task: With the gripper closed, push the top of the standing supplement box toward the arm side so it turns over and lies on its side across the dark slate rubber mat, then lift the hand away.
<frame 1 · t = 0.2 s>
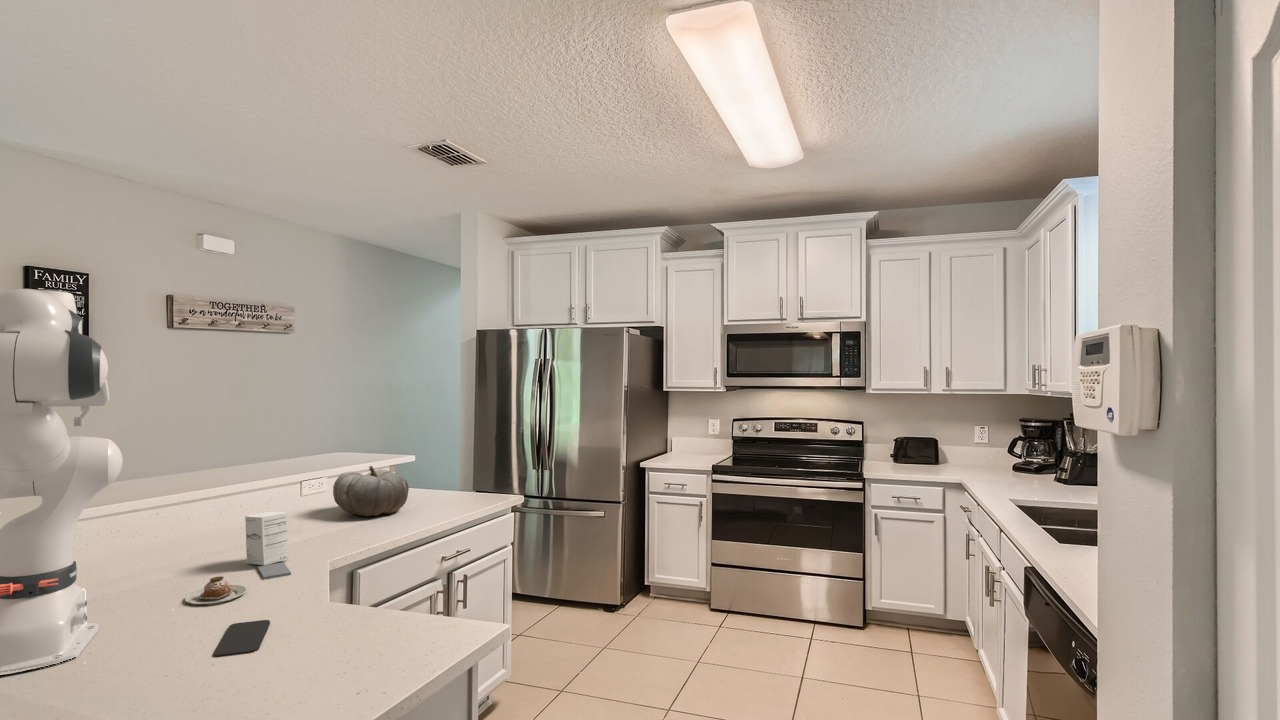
hand: (50, 426, 145), 39 cm above the worktop, fingers open, 8 cm apart
pastry: (216, 599, 151), on the worktop
gourd: (372, 513, 233), on the worktop
slate mat: (274, 571, 169), on the worktop
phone: (243, 641, 129), on the worktop
supplement box: (268, 562, 176), on the worktop, touching slate mat
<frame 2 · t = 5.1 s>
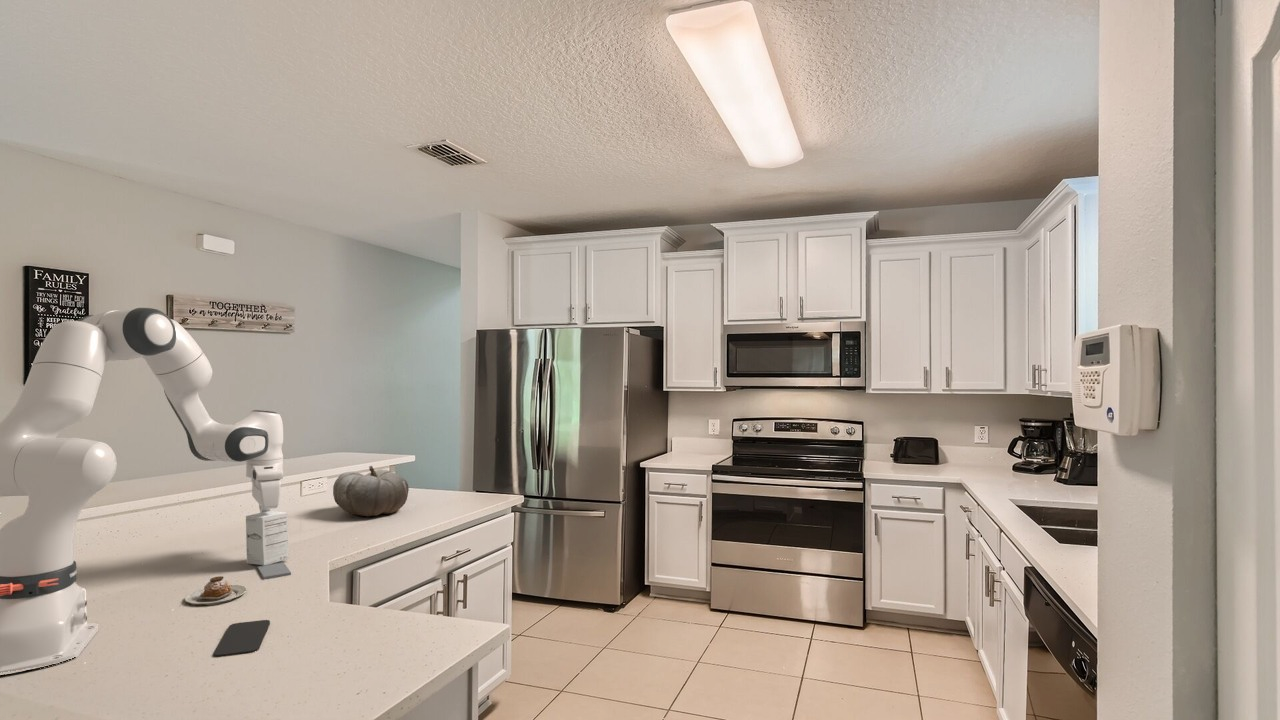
hand: (264, 519, 181), 10 cm above the worktop, fingers closed
supplement box: (268, 562, 176), on the worktop, touching gripper, slate mat
everything else where it was.
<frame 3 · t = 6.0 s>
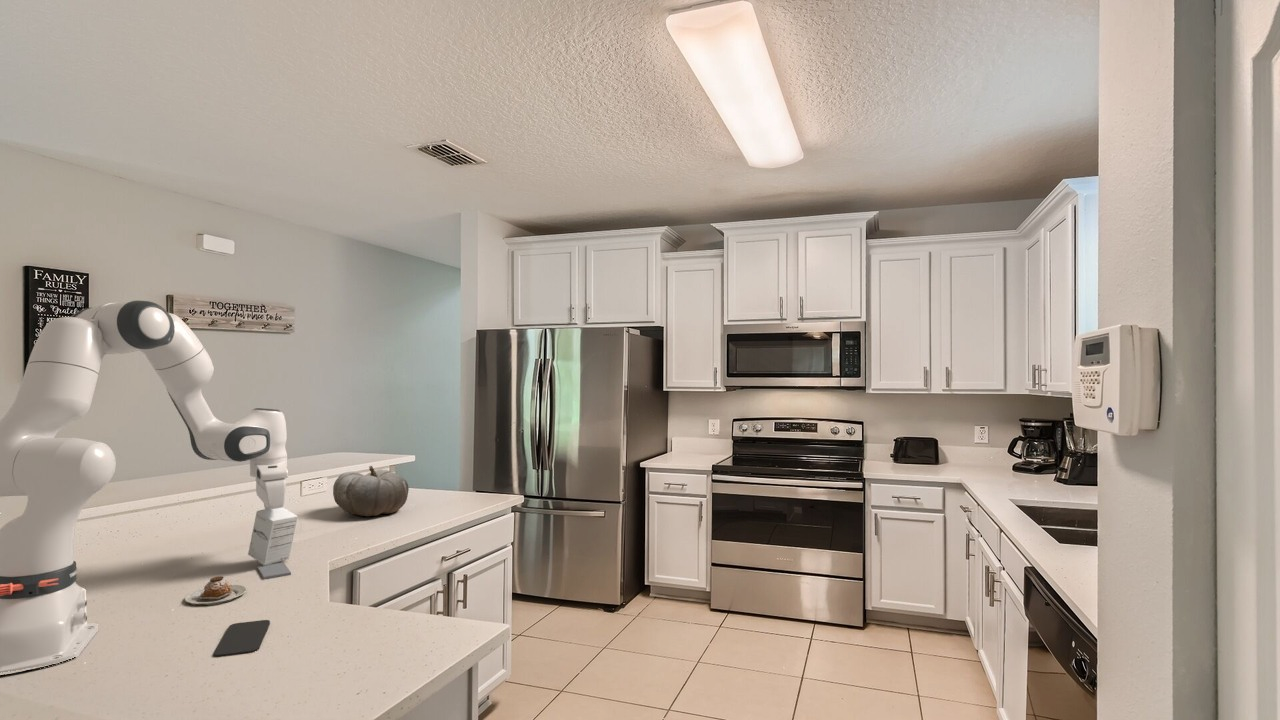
hand: (270, 518, 179), 11 cm above the worktop, fingers closed
supplement box: (268, 558, 176), point 1 cm above the worktop, touching gripper, slate mat
everything else where it was.
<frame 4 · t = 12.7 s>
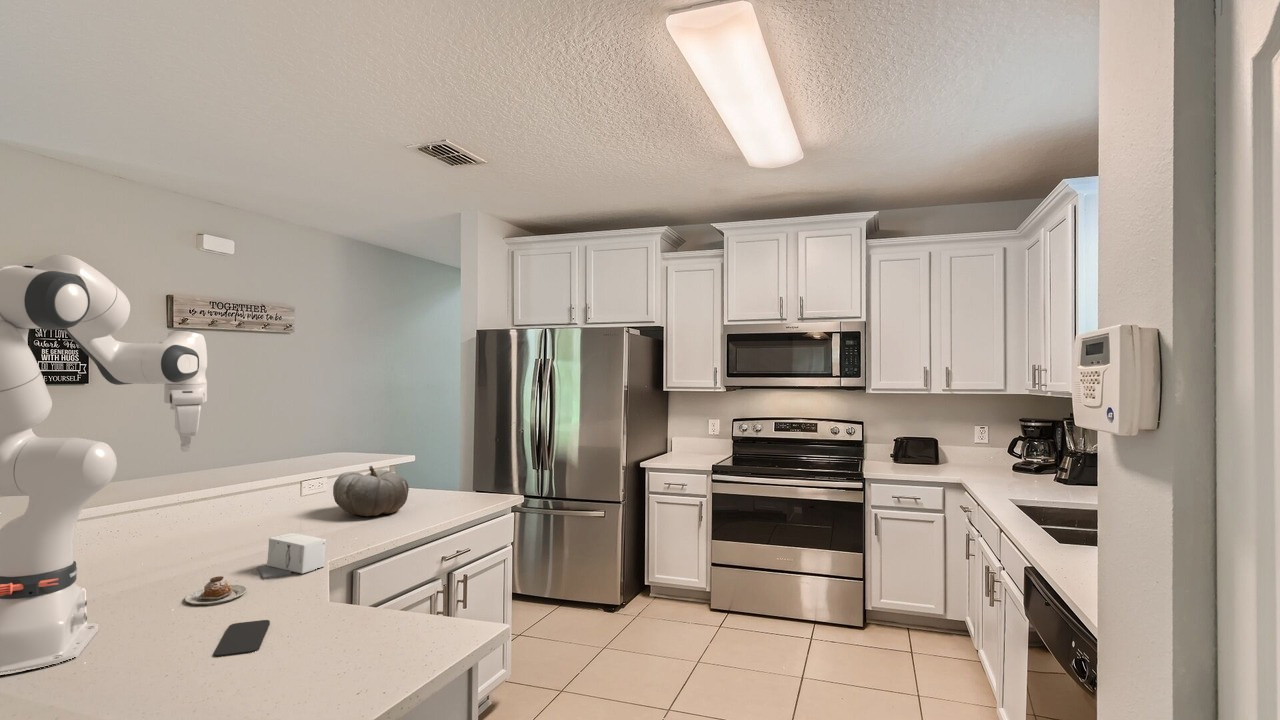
hand: (185, 450, 165), 31 cm above the worktop, fingers closed
supplement box: (278, 548, 174), point 4 cm above the worktop, touching slate mat
everything else where it was.
at the end: supplement box tilted 92°; supplement box inside the target area on the slate mat (3.9 cm from its centre), point 4.3 cm above the slate mat's base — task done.
